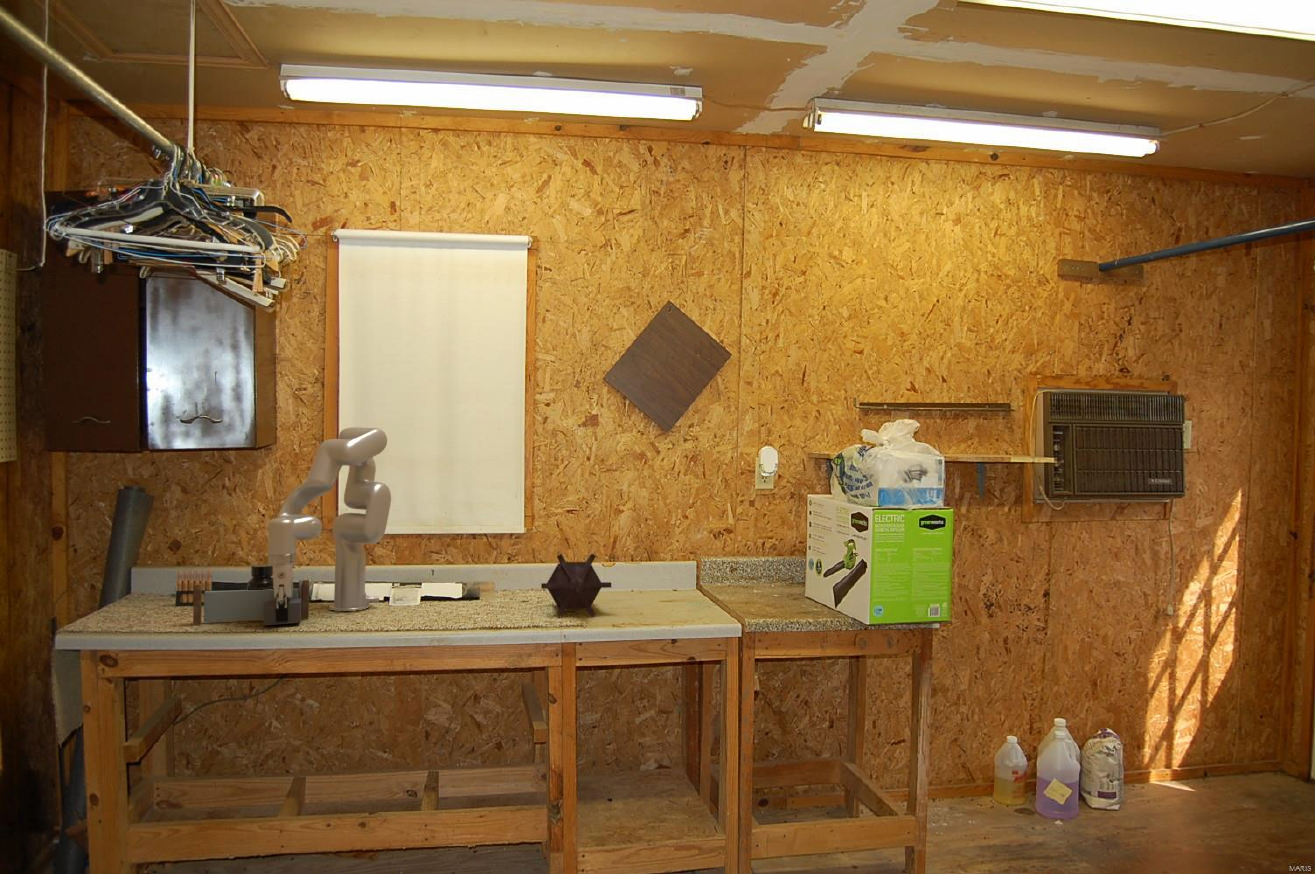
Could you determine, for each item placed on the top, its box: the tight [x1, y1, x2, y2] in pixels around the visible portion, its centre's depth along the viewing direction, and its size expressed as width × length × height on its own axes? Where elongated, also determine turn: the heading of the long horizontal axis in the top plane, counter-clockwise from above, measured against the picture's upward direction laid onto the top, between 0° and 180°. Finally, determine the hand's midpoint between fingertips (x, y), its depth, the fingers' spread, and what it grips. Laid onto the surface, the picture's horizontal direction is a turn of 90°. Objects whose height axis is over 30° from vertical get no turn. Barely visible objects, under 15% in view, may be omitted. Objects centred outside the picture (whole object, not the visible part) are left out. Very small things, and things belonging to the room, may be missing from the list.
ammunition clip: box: [174, 568, 213, 607], centre depth 277 cm, size 11×2×12 cm, turn 105°
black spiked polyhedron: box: [540, 553, 612, 618], centre depth 279 cm, size 21×23×30 cm
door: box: [203, 587, 299, 623], centre depth 256 cm, size 26×2×9 cm, turn 108°
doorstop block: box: [263, 599, 302, 626], centre depth 252 cm, size 10×6×6 cm, turn 110°
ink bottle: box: [247, 563, 273, 588], centre depth 288 cm, size 10×9×12 cm
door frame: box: [192, 579, 310, 627], centre depth 256 cm, size 32×2×12 cm, turn 111°
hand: (282, 618), depth 252 cm, fingers closed on doorstop block, 6 cm apart
